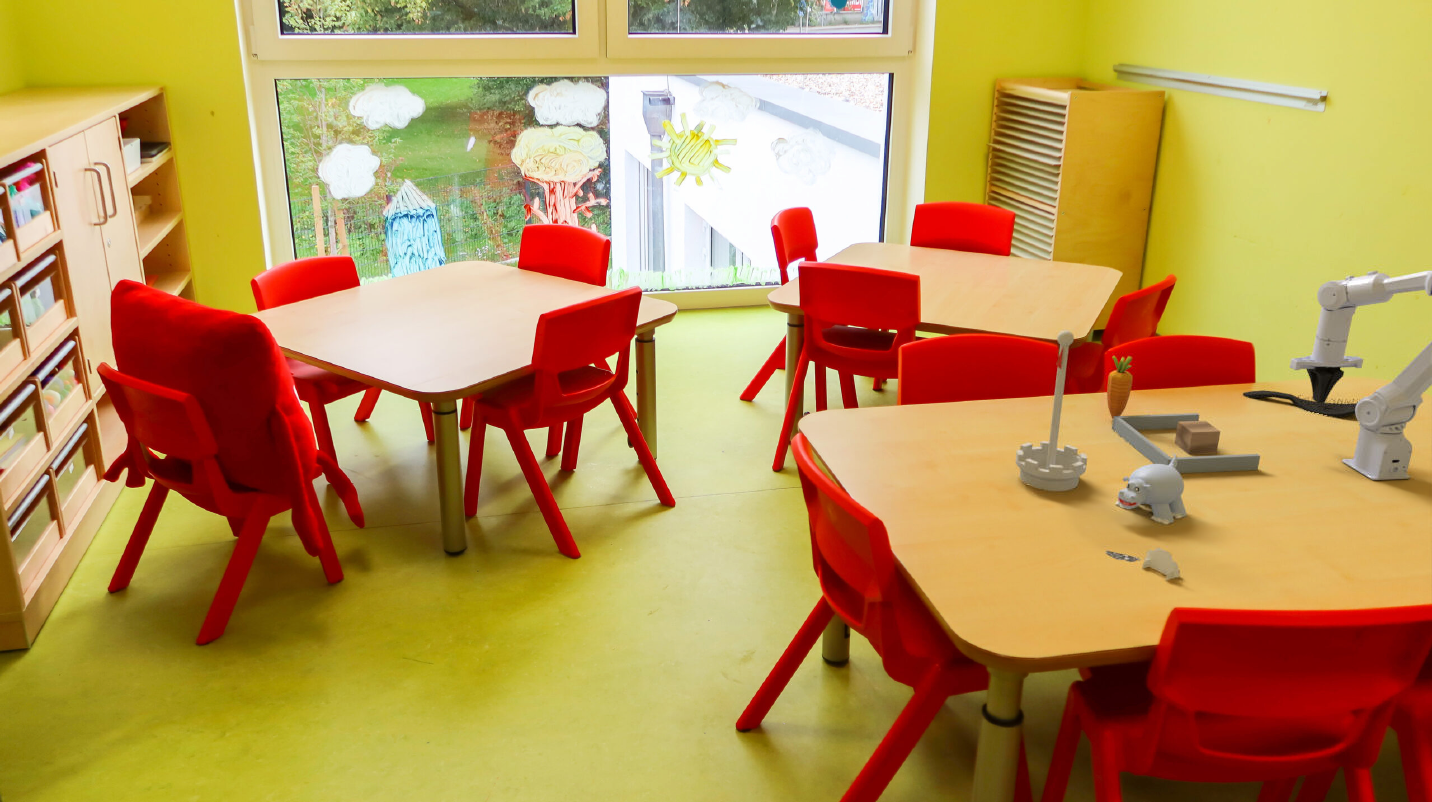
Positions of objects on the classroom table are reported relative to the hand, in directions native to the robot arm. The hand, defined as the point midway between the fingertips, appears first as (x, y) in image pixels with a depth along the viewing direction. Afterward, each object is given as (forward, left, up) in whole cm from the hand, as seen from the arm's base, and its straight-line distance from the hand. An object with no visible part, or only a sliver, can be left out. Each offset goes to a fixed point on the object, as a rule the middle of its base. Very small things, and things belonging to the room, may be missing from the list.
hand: (1318, 401), depth 228 cm
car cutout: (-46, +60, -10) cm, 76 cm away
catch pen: (0, +28, -9) cm, 30 cm away
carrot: (+17, +35, -10) cm, 40 cm away
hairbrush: (+22, -12, -10) cm, 27 cm away
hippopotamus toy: (-28, +50, -10) cm, 58 cm away
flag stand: (-12, +62, -10) cm, 64 cm away
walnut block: (0, +26, -10) cm, 27 cm away
